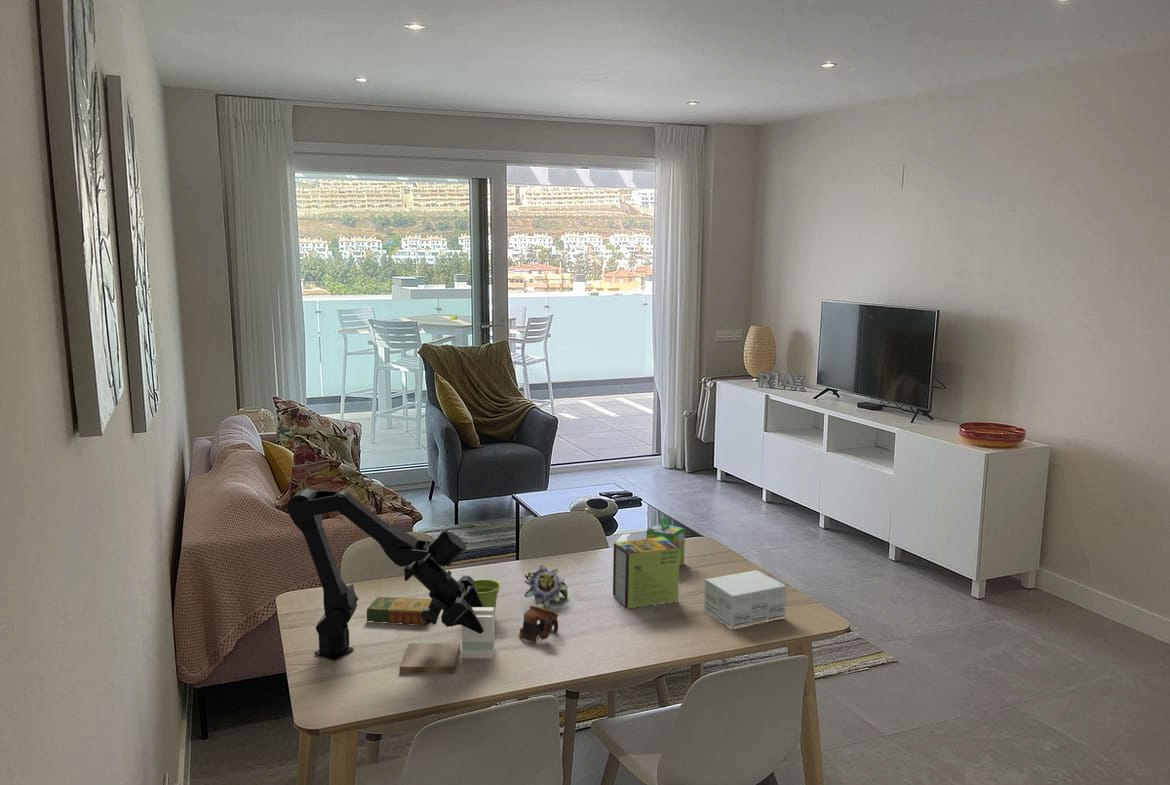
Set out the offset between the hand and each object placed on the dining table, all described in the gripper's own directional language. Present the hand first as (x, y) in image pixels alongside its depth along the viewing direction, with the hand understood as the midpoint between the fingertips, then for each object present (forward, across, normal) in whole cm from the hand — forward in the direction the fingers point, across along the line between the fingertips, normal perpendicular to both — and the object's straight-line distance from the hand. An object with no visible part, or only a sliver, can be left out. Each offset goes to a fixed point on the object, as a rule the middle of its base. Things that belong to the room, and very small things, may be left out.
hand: (483, 624), depth 202 cm
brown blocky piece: (+14, -9, +4) cm, 18 cm away
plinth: (-4, +4, -13) cm, 14 cm away
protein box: (+34, -33, +24) cm, 53 cm away
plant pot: (+3, -20, -7) cm, 22 cm away
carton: (-11, -21, -21) cm, 32 cm away
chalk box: (+40, -60, +30) cm, 79 cm away
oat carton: (+4, 0, -6) cm, 7 cm away
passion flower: (+15, -32, +5) cm, 35 cm away
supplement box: (+52, -22, +41) cm, 70 cm away
